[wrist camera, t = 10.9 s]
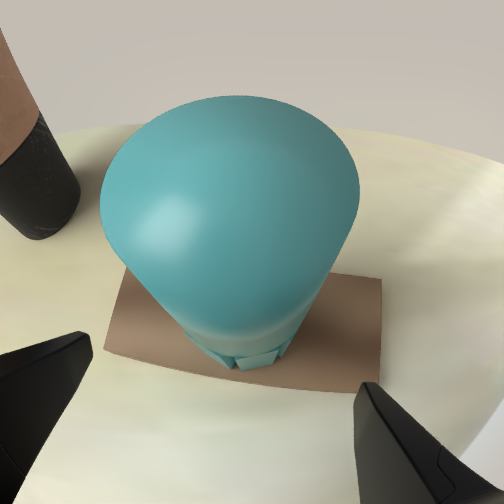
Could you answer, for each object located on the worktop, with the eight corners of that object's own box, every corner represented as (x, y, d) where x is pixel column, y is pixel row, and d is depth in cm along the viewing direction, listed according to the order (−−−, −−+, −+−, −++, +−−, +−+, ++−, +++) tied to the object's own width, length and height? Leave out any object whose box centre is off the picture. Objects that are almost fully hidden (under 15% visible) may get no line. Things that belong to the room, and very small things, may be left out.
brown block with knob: (370, 393, 16) (402, 389, 12) (111, 352, 17) (76, 337, 13) (375, 286, 19) (401, 255, 15) (139, 254, 20) (115, 219, 16)
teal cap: (206, 378, 15) (98, 326, 5) (188, 285, 18) (109, 122, 7) (306, 355, 16) (403, 257, 5) (280, 265, 18) (305, 85, 8)
